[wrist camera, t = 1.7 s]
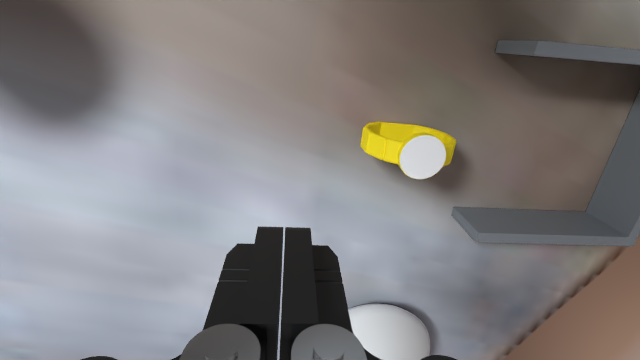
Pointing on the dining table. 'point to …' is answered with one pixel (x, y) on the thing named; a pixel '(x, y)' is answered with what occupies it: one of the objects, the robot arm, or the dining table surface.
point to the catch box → (610, 194)
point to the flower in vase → (390, 332)
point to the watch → (409, 147)
